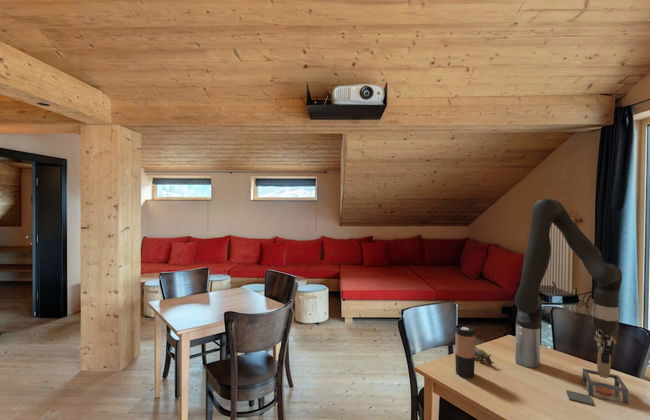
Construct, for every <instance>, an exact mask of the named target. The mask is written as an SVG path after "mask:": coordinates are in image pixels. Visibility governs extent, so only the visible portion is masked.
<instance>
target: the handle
mask: <svg viewBox="0 0 650 420" xmlns="http://www.w3.org/2000/svg"><path fill="white" fill-rule="evenodd" d="M612 338H613V340H612V341H613V342H614V345H615V344H617V339H615V338H614V337H612ZM593 339H594V341H595V342H596V341H597V342H599V343H602V344H604V342H603V341H602V339H599V338H598V336H597V335H596V334H595V335H593ZM598 348H599V350H598V349H597V359H596V365H597V366H596V368H597V371H598V375H597V376H599V377H600V378H603V379H608V378H610V377H609V374H611V367H612V357H611V356H612V355H610V354H609V364H606V363H602V362H601V346H600V345H599V347H598ZM606 350H607V351H608V349H606Z"/></svg>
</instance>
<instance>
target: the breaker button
mask: <svg viewBox="0 0 650 420" xmlns="http://www.w3.org/2000/svg"><path fill="white" fill-rule="evenodd" d="M595 389H596V390H597V391H599V392H601V393H604V394H608V395H611V394H613V389H608V388H604V387H599V386H595Z"/></svg>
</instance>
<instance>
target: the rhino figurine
mask: <svg viewBox="0 0 650 420" xmlns="http://www.w3.org/2000/svg"><path fill="white" fill-rule="evenodd" d="M475 356H476V357H475V358H477V359H476V362H477V361H480V360H481V361H485V362H486V363H487V364H488V365H489V366H492V364H494V363H495V361H492V359H491V358H490V357H492V354H488V353H487V352H486V351H485V350H483V349H481V348H478V347H477V346H476V345H475ZM481 361H480V362H481Z"/></svg>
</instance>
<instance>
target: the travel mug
mask: <svg viewBox="0 0 650 420" xmlns="http://www.w3.org/2000/svg"><path fill="white" fill-rule="evenodd" d="M475 337H476V329H475V328H474V326H472V325H469V324H467V325H462V324H460V323H459V324H456V326H455V345H454V346H455V347H454V348H455V349H454V350H455V351H454V355H455V357H454V358H455V360H454V361H455V374H456V375H457V376H458V375H459V376H458V377H459V378H460V377H461V378H462V377H463V378H462V379H467V378H470V379H473V378H474V377H475V367H476V366H475V365H476V364H475V362H476V357H475V346H476V338H475ZM472 377H473V378H472Z"/></svg>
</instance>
